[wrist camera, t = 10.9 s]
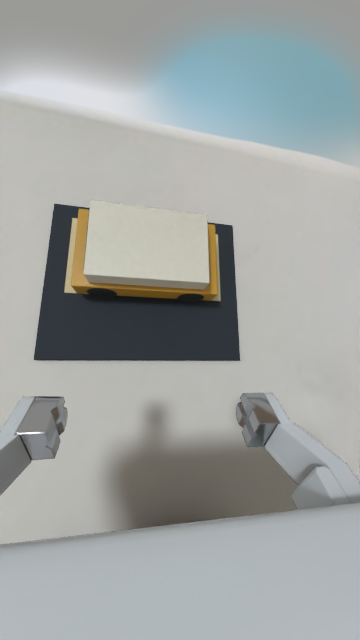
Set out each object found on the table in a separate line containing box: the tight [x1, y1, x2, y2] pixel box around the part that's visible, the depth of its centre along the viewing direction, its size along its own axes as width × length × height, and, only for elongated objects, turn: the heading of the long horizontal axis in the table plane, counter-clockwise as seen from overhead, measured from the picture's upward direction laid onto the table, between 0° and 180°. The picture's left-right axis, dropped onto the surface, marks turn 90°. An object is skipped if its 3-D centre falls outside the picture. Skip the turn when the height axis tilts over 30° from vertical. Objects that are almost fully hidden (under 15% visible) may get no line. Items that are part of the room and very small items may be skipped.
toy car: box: [71, 200, 218, 302], centre depth 22 cm, size 14×5×8 cm
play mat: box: [34, 204, 240, 360], centre depth 24 cm, size 21×17×1 cm
